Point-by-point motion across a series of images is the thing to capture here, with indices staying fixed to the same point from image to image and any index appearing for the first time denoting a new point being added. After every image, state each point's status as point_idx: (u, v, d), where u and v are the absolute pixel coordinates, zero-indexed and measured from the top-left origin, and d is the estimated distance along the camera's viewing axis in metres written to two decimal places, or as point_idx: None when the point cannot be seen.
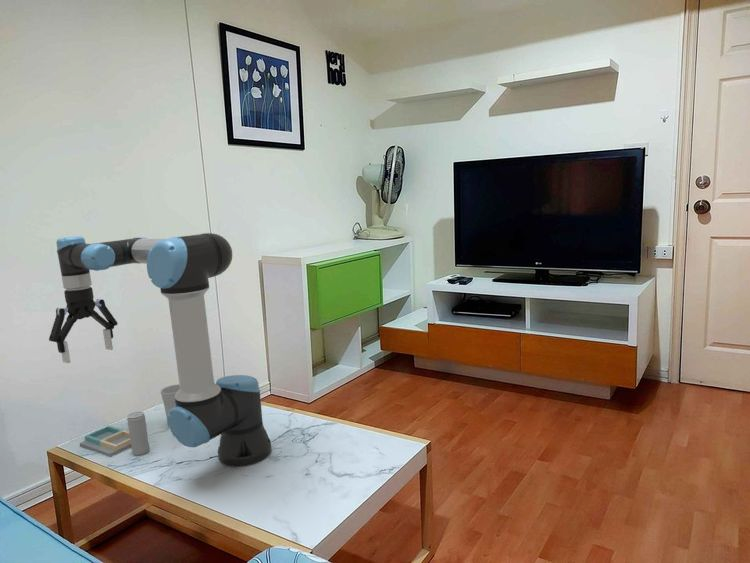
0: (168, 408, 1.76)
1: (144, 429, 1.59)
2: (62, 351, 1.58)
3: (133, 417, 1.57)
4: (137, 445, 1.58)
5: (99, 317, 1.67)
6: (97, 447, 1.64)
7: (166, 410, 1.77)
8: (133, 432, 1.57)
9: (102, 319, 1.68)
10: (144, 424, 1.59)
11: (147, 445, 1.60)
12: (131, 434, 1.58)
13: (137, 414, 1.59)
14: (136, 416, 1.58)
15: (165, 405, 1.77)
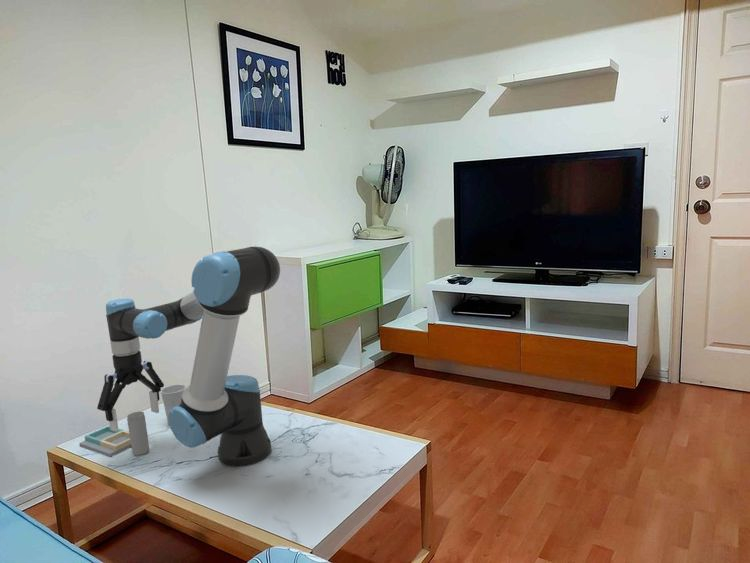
0: (168, 408, 1.76)
1: (144, 429, 1.59)
2: (110, 419, 1.52)
3: (133, 417, 1.57)
4: (137, 445, 1.58)
5: (146, 380, 1.61)
6: (97, 447, 1.64)
7: (166, 410, 1.77)
8: (133, 432, 1.57)
9: (149, 382, 1.62)
10: (144, 424, 1.59)
11: (147, 445, 1.60)
12: (131, 434, 1.58)
13: (137, 414, 1.59)
14: (136, 416, 1.58)
15: (165, 405, 1.77)
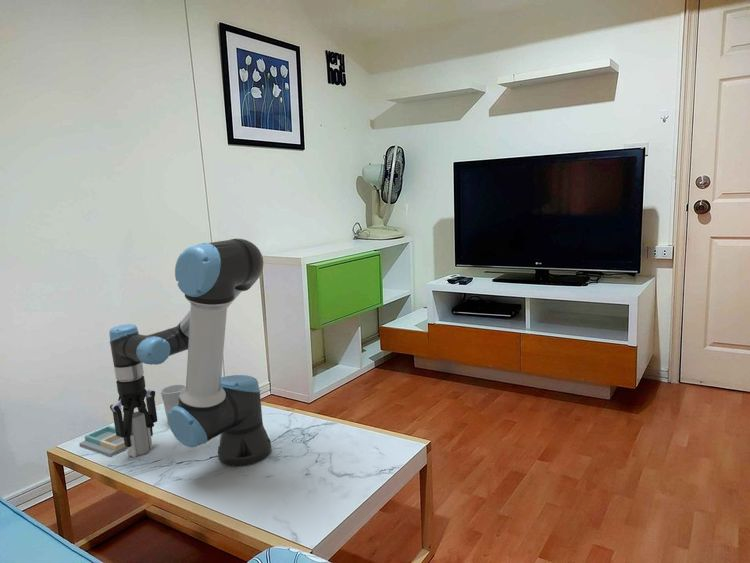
0: (168, 408, 1.76)
1: (144, 429, 1.59)
2: (129, 445, 1.57)
3: (133, 417, 1.57)
4: (137, 445, 1.58)
5: (145, 410, 1.60)
6: (97, 447, 1.64)
7: (166, 410, 1.77)
8: (133, 432, 1.57)
9: (146, 413, 1.61)
10: (144, 424, 1.59)
11: (147, 445, 1.60)
12: (131, 434, 1.58)
13: (137, 414, 1.59)
14: (136, 416, 1.58)
15: (165, 405, 1.77)
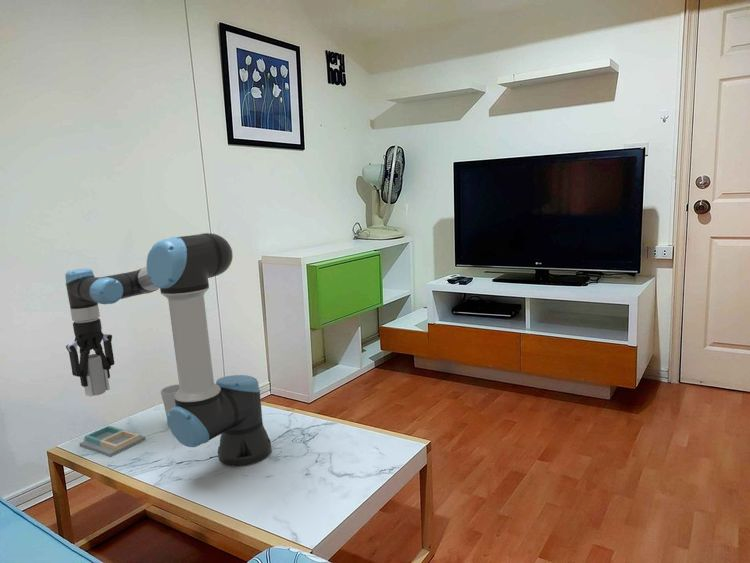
0: (168, 408, 1.76)
1: (100, 370, 1.66)
2: (85, 385, 1.63)
3: (89, 358, 1.64)
4: (93, 385, 1.65)
5: (101, 353, 1.67)
6: (97, 447, 1.64)
7: (166, 410, 1.77)
8: (89, 372, 1.64)
9: (103, 356, 1.68)
10: (100, 365, 1.66)
11: (103, 386, 1.67)
12: (87, 374, 1.64)
13: (93, 356, 1.66)
14: (92, 357, 1.65)
15: (165, 405, 1.77)
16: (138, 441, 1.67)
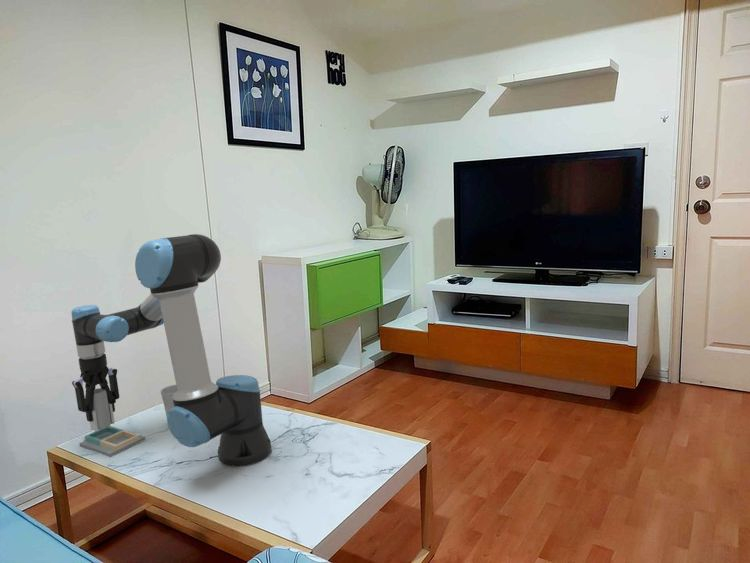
0: (168, 408, 1.76)
1: (105, 405, 1.68)
2: (90, 420, 1.65)
3: (95, 393, 1.66)
4: (98, 419, 1.67)
5: (107, 387, 1.69)
6: (97, 447, 1.64)
7: (166, 410, 1.77)
8: (94, 407, 1.66)
9: (108, 390, 1.70)
10: (105, 400, 1.68)
11: (108, 420, 1.69)
12: (93, 409, 1.66)
13: (99, 390, 1.68)
14: (98, 392, 1.67)
15: (165, 405, 1.77)
16: (138, 441, 1.67)
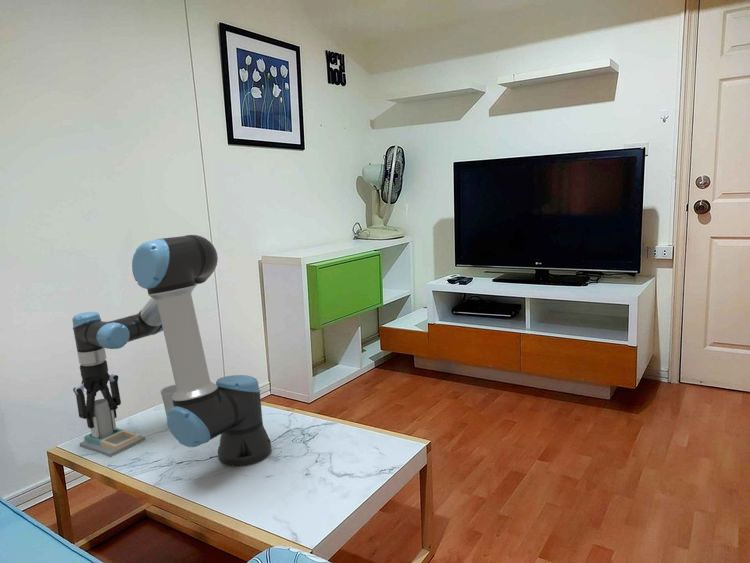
0: (168, 408, 1.76)
1: (107, 415, 1.68)
2: (91, 426, 1.66)
3: (96, 404, 1.67)
4: (100, 430, 1.67)
5: (108, 394, 1.69)
6: (97, 447, 1.64)
7: (166, 410, 1.77)
8: (96, 418, 1.67)
9: (110, 396, 1.70)
10: (107, 410, 1.68)
11: (110, 430, 1.70)
12: None
13: (101, 401, 1.69)
14: (100, 403, 1.67)
15: (165, 405, 1.77)
16: (138, 441, 1.67)
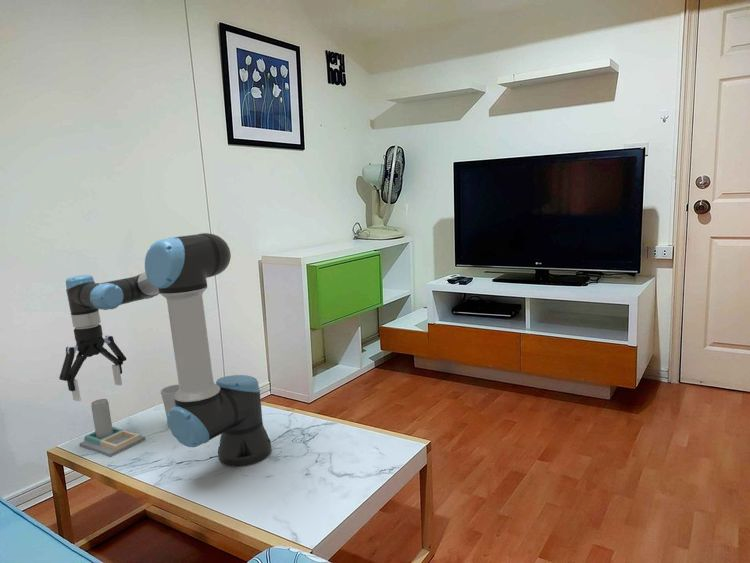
0: (168, 408, 1.76)
1: (107, 415, 1.68)
2: (72, 389, 1.60)
3: (97, 404, 1.67)
4: (100, 430, 1.67)
5: (108, 354, 1.69)
6: (97, 447, 1.64)
7: (166, 410, 1.77)
8: (96, 418, 1.67)
9: (111, 355, 1.70)
10: (107, 410, 1.68)
11: (111, 430, 1.70)
12: (95, 420, 1.67)
13: (101, 401, 1.69)
14: (100, 403, 1.67)
15: (165, 405, 1.77)
16: (138, 441, 1.67)
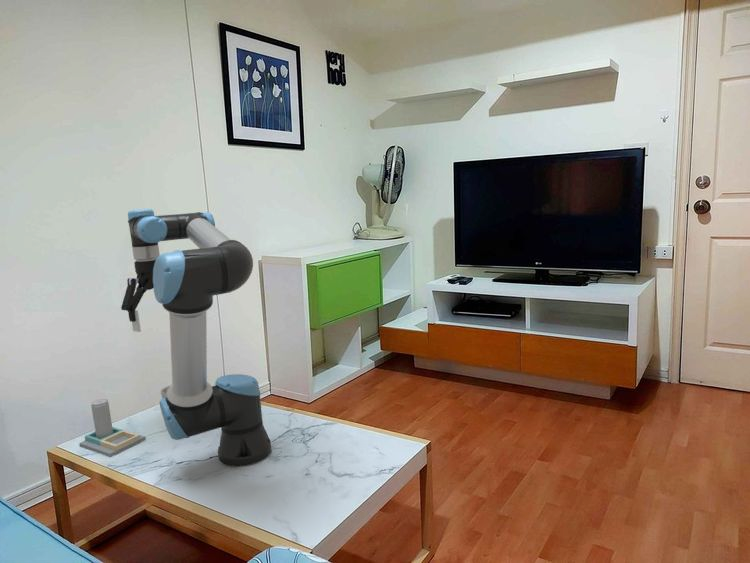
0: None
1: (107, 415, 1.68)
2: (133, 320, 1.63)
3: (97, 404, 1.67)
4: (100, 430, 1.67)
5: None
6: (97, 447, 1.64)
7: None
8: (96, 418, 1.67)
9: None
10: (107, 411, 1.68)
11: (111, 431, 1.70)
12: (95, 420, 1.67)
13: (101, 401, 1.69)
14: (100, 403, 1.67)
15: None
16: (138, 441, 1.67)
